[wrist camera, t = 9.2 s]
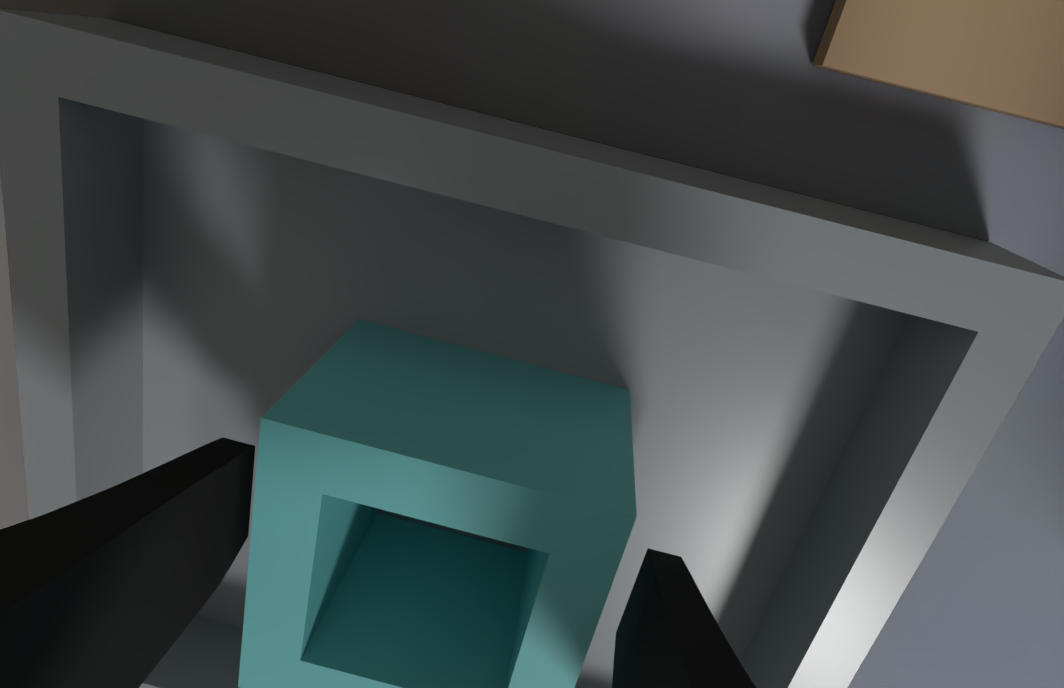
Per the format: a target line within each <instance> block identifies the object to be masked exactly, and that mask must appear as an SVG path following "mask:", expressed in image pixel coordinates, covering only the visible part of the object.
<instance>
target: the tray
mask: <svg viewBox="0 0 1064 688" xmlns="http://www.w3.org/2000/svg"><path fill="white" fill-rule="evenodd" d="M0 166H1V178H2V190H3V203H4V215H5V228H6V240H7V252H8V265H9V277H10V290H11V302H12V314H13V327H14V339H15V351H16V364H17V376H18V389H19V401H20V413H21V426H22V438H23V451H24V463H25V475H26V488H27V500H28V512H29V520H30V519H33V518H36V517H38V516H41V515H44V514H46V513H49V512H52V511H54V510H57V509H59V508H61V507H64V506H66V505H69V504H71V503H74V502H76V501H79V500H81V499H84V498H86V497H89V496H91V495H94V494H96V493H99V492H101V491H104V490H106V489H109V488H111V487H113V486H116V485H118V484H120V483H122V482H124V481H127V480H129V479H131V478H133V477H136V476H138V475H140V474H142V473H145V472H147V471H149V470H151V469H153V468H156V467H158V466H160V465H162V464H164V463H167V462H169V461H171V460H173V459H175V458H177V457H179V456H182V455H184V454H186V453H188V452H190V451H192V450H195V449H197V448H199V447H201V446H203V445H206V444H208V443H210V442H213V441H215V440H217V439H220V438H222V437H223V438H227V439H231V440H235V441H239V442H243V443H246V444H250V445H254V446H255V458H254V471H253V483H252V496H251V508H250V521H249V533H248V538H247V539H246V541H245V543H244V544H243V546H242V548H241V550H240V551H239V553H238V555H237V556H236V558H235V560H234V562H233V563H232V565H231V567H230V568H229V570H228V571H227V573H226V575H225V576H224V578H223V579H222V581H221V583H220V584H219V586H218V587H217V588H216V590H215V591H214V592H213V594H212V595H211V596H210V598H209V599H208V600H207V602H206V603H205V604H204V605H203V607H202V608H201V609H200V611H199V612H198V613H197V614H196V616H195V617H194V618H193V620H192V621H191V622H190V623H189V625H188V626H187V627H186V628H185V630H184V631H183V632H182V634H181V635H180V636H179V637H178V639H177V640H176V641H175V642H174V644H173V645H172V646H171V647H170V649H169V650H168V651H167V653H166V654H165V655H164V656H163V658H162V659H161V660H160V661H159V663H158V664H157V665H156V666H155V668H154V669H153V670H152V672H151V673H150V674H149V675H148V677H147V678H146V679H145V680H144V682H143V683H142V684H141V686H140V687H139V688H239V687H238V681H239V669H240V657H241V646H242V634H243V622H244V610H245V598H246V586H247V574H248V562H249V551H250V539H251V527H252V515H253V503H254V491H255V479H256V467H257V456H258V444H259V432H260V420H261V417H262V416H263V415H264V414H265V413H266V412H267V411H268V410H269V409H270V408H271V407H272V406H273V405H274V404H275V403H276V402H277V401H278V400H279V399H280V398H281V397H282V396H283V395H284V394H285V393H286V392H287V391H288V390H289V389H290V388H291V387H292V386H293V385H294V384H295V383H296V382H297V381H298V380H299V379H300V378H301V377H302V376H303V375H304V374H305V373H306V372H307V371H308V370H309V369H310V368H311V367H312V366H313V365H314V364H315V363H316V362H317V361H318V360H319V359H320V358H321V357H322V356H323V355H324V354H325V353H326V352H327V351H328V350H329V349H330V348H331V347H332V346H333V345H334V344H335V343H336V342H337V340H338V339H339V338H340V337H341V336H342V335H343V334H344V333H345V332H346V331H347V330H348V329H349V328H350V327H351V326H352V325H353V324H354V323H355V322H356V321H357V320H358V319H360V320H364V321H368V322H372V323H376V324H379V325H383V326H387V327H391V328H395V329H399V330H403V331H406V332H410V333H414V334H418V335H422V336H426V337H429V338H433V339H437V340H441V341H445V342H449V343H453V344H456V345H460V346H464V347H468V348H472V349H476V350H479V351H483V352H487V353H491V354H495V355H499V356H503V357H506V358H510V359H514V360H518V361H522V362H526V363H529V364H533V365H537V366H541V367H545V368H549V369H552V370H556V371H560V372H564V373H568V374H572V375H576V376H579V377H583V378H587V379H591V380H595V381H599V382H602V383H606V384H610V385H614V386H618V387H622V388H626V389H629V390H630V403H631V421H632V439H633V457H634V475H635V493H636V511H637V517H636V520H635V523H634V525H633V528H632V531H631V534H630V536H629V539H628V542H627V545H626V547H625V550H624V553H623V556H622V558H621V561H620V564H619V567H618V569H617V572H616V575H615V578H614V580H613V583H612V586H611V589H610V591H609V594H608V597H607V600H606V602H605V605H604V608H603V611H602V614H601V616H600V619H599V622H598V625H597V627H596V630H595V633H594V636H593V638H592V641H591V644H590V647H589V649H588V652H587V655H586V658H585V660H584V663H583V666H582V669H581V671H580V674H579V677H578V680H577V682H576V685H575V688H612V680H613V664H614V651H615V638H616V631H617V628H618V626H619V623H620V621H621V618H622V615H623V613H624V610H625V607H626V605H627V602H628V599H629V597H630V594H631V591H632V589H633V586H634V583H635V581H636V578H637V575H638V573H639V570H640V567H641V565H642V562H643V559H644V557H645V554H646V551H647V549H648V548H649V549H653V550H657V551H661V552H665V553H668V554H672V555H676V556H680V557H682V559H683V561H684V563H685V564H686V566H687V568H688V570H689V572H690V574H691V575H692V577H693V579H694V581H695V583H696V585H697V587H698V589H699V590H700V592H701V594H702V596H703V598H704V600H705V602H706V603H707V605H708V607H709V609H710V611H711V613H712V614H713V616H714V618H715V620H716V622H717V623H718V625H719V627H720V629H721V631H722V632H723V634H724V636H725V637H726V639H727V641H728V643H729V644H730V646H731V648H732V649H733V651H734V653H735V654H736V656H737V658H738V659H739V661H740V663H741V665H742V666H743V668H744V669H745V671H746V673H747V674H748V676H749V677H750V679H751V680H752V682H753V683H754V685H755V686H756V688H847V687H848V685H849V684H850V682H851V680H852V678H853V677H854V675H855V673H856V672H857V670H858V668H859V667H860V665H861V663H862V661H863V660H864V658H865V656H866V655H867V653H868V651H869V649H870V648H871V646H872V644H873V643H874V641H875V639H876V637H877V636H878V634H879V632H880V631H881V629H882V627H883V626H884V624H885V622H886V620H887V619H888V617H889V615H890V614H891V612H892V610H893V608H894V607H895V605H896V603H897V602H898V600H899V598H900V596H901V595H902V593H903V591H904V590H905V588H906V586H907V584H908V583H909V581H910V579H911V578H912V576H913V574H914V573H915V571H916V569H917V567H918V566H919V564H920V562H921V561H922V559H923V557H924V555H925V554H926V552H927V550H928V549H929V547H930V545H931V543H932V542H933V540H934V538H935V537H936V535H937V533H938V532H939V530H940V528H941V526H942V525H943V523H944V521H945V520H946V518H947V516H948V514H949V513H950V511H951V509H952V508H953V506H954V504H955V502H956V501H957V499H958V497H959V496H960V494H961V492H962V490H963V489H964V487H965V485H966V484H967V482H968V480H969V479H970V477H971V475H972V473H973V472H974V470H975V468H976V467H977V465H978V463H979V461H980V460H981V458H982V456H983V455H984V453H985V451H986V449H987V448H988V446H989V444H990V443H991V441H992V439H993V438H994V436H995V434H996V432H997V431H998V429H999V427H1000V426H1001V424H1002V422H1003V420H1004V419H1005V417H1006V415H1007V414H1008V412H1009V410H1010V408H1011V407H1012V405H1013V403H1014V402H1015V400H1016V398H1017V397H1018V395H1019V393H1020V391H1021V390H1022V388H1023V386H1024V385H1025V383H1026V381H1027V379H1028V378H1029V376H1030V374H1031V373H1032V371H1033V369H1034V367H1035V366H1036V364H1037V362H1038V361H1039V359H1040V357H1041V355H1042V354H1043V352H1044V350H1045V349H1046V347H1047V345H1048V344H1049V342H1050V340H1051V338H1052V337H1053V335H1054V333H1055V332H1056V330H1057V328H1058V326H1059V325H1060V323H1061V321H1062V320H1063V318H1064V277H1063V276H1061V275H1059V274H1057V273H1055V272H1053V271H1050V270H1048V269H1046V268H1044V267H1042V266H1040V265H1038V264H1036V263H1033V262H1031V261H1029V260H1027V259H1025V258H1023V257H1021V256H1019V255H1016V254H1014V253H1012V252H1010V251H1008V250H1006V249H1004V248H1002V247H999V246H997V245H995V244H993V243H991V242H987V241H983V240H979V239H975V238H971V237H967V236H963V235H959V234H955V233H951V232H947V231H943V230H939V229H935V228H932V227H928V226H924V225H920V224H916V223H912V222H908V221H904V220H900V219H896V218H892V217H888V216H884V215H880V214H876V213H872V212H868V211H865V210H861V209H857V208H853V207H849V206H845V205H841V204H837V203H833V202H829V201H825V200H821V199H817V198H813V197H809V196H805V195H801V194H798V193H794V192H790V191H786V190H782V189H778V188H774V187H770V186H766V185H762V184H758V183H754V182H750V181H746V180H742V179H738V178H735V177H731V176H727V175H723V174H719V173H715V172H711V171H707V170H703V169H699V168H695V167H691V166H687V165H683V164H679V163H675V162H671V161H668V160H664V159H660V158H656V157H652V156H648V155H644V154H640V153H636V152H632V151H628V150H624V149H620V148H616V147H612V146H608V145H605V144H601V143H597V142H593V141H589V140H585V139H581V138H577V137H573V136H569V135H565V134H561V133H557V132H553V131H549V130H545V129H541V128H538V127H534V126H530V125H526V124H522V123H518V122H514V121H510V120H506V119H502V118H498V117H494V116H490V115H486V114H482V113H478V112H475V111H471V110H467V109H463V108H459V107H455V106H451V105H447V104H443V103H439V102H435V101H431V100H427V99H423V98H419V97H415V96H411V95H408V94H404V93H400V92H396V91H392V90H388V89H384V88H380V87H376V86H372V85H368V84H364V83H360V82H356V81H352V80H348V79H345V78H341V77H337V76H333V75H329V74H325V73H321V72H317V71H313V70H309V69H305V68H301V67H297V66H293V65H289V64H285V63H281V62H278V61H274V60H270V59H266V58H262V57H258V56H254V55H250V54H246V53H242V52H238V51H234V50H230V49H226V48H222V47H218V46H215V45H211V44H207V43H203V42H199V41H195V40H191V39H187V38H183V37H179V36H175V35H171V34H167V33H163V32H159V31H155V30H151V29H148V28H144V27H140V26H136V25H132V24H128V23H124V22H120V21H116V20H112V19H108V18H99V17H89V16H78V15H67V14H56V13H45V12H34V11H23V10H12V9H1V8H0ZM377 513H378V514H382V515H386V516H390V517H394V518H397V519H401V520H405V521H409V522H413V523H416V524H420V525H424V526H428V527H432V528H435V529H439V530H443V531H447V532H451V533H454V534H458V535H462V536H466V537H470V538H473V539H477V540H481V541H485V542H489V543H493V544H496V545H500V546H504V547H508V548H512V549H515V550H519V551H523V552H527V553H528V551H529V548H526V547H522V546H519V545H515V544H511V543H507V542H503V541H499V540H496V539H492V538H488V537H484V536H480V535H477V534H473V533H469V532H465V531H461V530H458V529H454V528H450V527H446V526H442V525H439V524H435V523H431V522H427V521H423V520H420V519H416V518H412V517H408V516H404V515H401V514H397V513H393V512H389V511H385V510H382V509H378V511H377Z"/></svg>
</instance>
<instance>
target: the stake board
mask: <svg viewBox="0 0 1064 688" xmlns="http://www.w3.org/2000/svg"><path fill="white" fill-rule="evenodd" d="M812 66H816V67H820V68H824V69H828V70H832V71H836V72H840V73H844V74H848V75H852V76H856V77H860V78H864V79H868V80H872V81H876V82H880V83H884V84H888V85H892V86H896V87H900V88H904V89H908V90H912V91H916V92H920V93H924V94H927V95H931V96H935V97H939V98H943V99H947V100H951V101H955V102H959V103H963V104H967V105H971V106H975V107H979V108H983V109H987V110H991V111H995V112H999V113H1003V114H1007V115H1011V116H1015V117H1019V118H1023V119H1027V120H1031V121H1035V122H1039V123H1043V124H1047V125H1051V126H1055V127H1059V128H1063V129H1064V0H836V1H835V4H834V7H833V9H832V12H831V15H830V17H829V20H828V23H827V26H826V28H825V31H824V34H823V37H822V39H821V42H820V45H819V47H818V50H817V53H816V56H815V58H814V61H813V64H812Z"/></svg>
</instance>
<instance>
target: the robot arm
mask: <svg viewBox="0 0 1064 688" xmlns="http://www.w3.org/2000/svg"><path fill="white" fill-rule="evenodd" d="M254 458H255V446H254V445H250V444H246V443H243V442H239V441H235V440H231V439H227V438H223V437H222V438H220V439H217V440H215V441H213V442H210V443H208V444H206V445H203V446H201V447H199V448H197V449H195V450H192V451H190V452H188V453H186V454H184V455H182V456H179V457H177V458H175V459H173V460H171V461H169V462H167V463H164V464H162V465H160V466H158V467H156V468H153V469H151V470H149V471H147V472H145V473H142V474H140V475H138V476H136V477H133V478H131V479H129V480H127V481H124V482H122V483H120V484H118V485H116V486H113V487H111V488H109V489H106V490H104V491H101V492H99V493H96V494H94V495H91V496H89V497H86V498H84V499H81V500H79V501H76V502H74V503H71V504H69V505H66V506H64V507H61V508H59V509H57V510H54V511H52V512H49V513H46V514H44V515H41V516H38V517H36V518H33V519H30V520H27V521H24V522H21V523H19V524H16V525H13V526H10V527H7V528H4V529H1V530H0V688H139V687H140V686H141V684H142V683H143V682H144V680H145V679H146V678H147V677H148V675H149V674H150V673H151V672H152V670H153V669H154V668H155V666H156V665H157V664H158V663H159V661H160V660H161V659H162V658H163V656H164V655H165V654H166V653H167V651H168V650H169V649H170V647H171V646H172V645H173V644H174V642H175V641H176V640H177V639H178V637H179V636H180V635H181V634H182V632H183V631H184V630H185V628H186V627H187V626H188V625H189V623H190V622H191V621H192V620H193V618H194V617H195V616H196V614H197V613H198V612H199V611H200V609H201V608H202V607H203V605H204V604H205V603H206V602H207V600H208V599H209V598H210V596H211V595H212V594H213V592H214V591H215V590H216V588H217V587H218V586H219V584H220V583H221V581H222V579H223V578H224V576H225V575H226V573H227V571H228V570H229V568H230V567H231V565H232V563H233V562H234V560H235V558H236V556H237V555H238V553H239V551H240V550H241V548H242V546H243V544H244V543H245V541H246V539H247V538H248V533H249V521H250V508H251V496H252V483H253V471H254ZM612 688H756V686H755V685H754V683H753V682H752V680H751V679H750V677H749V676H748V674H747V673H746V671H745V669H744V668H743V666H742V665H741V663H740V661H739V659H738V658H737V656H736V654H735V653H734V651H733V649H732V648H731V646H730V644H729V643H728V641H727V639H726V637H725V636H724V634H723V632H722V631H721V629H720V627H719V625H718V623H717V622H716V620H715V618H714V616H713V614H712V613H711V611H710V609H709V607H708V605H707V603H706V602H705V600H704V598H703V596H702V594H701V592H700V590H699V589H698V587H697V585H696V583H695V581H694V579H693V577H692V575H691V574H690V572H689V570H688V568H687V566H686V564H685V563H684V561H683V559H682V557H680V556H676V555H672V554H668V553H665V552H661V551H657V550H653V549H649V548H648V549H647V551H646V554H645V557H644V559H643V562H642V565H641V567H640V570H639V573H638V575H637V578H636V581H635V583H634V586H633V589H632V591H631V594H630V597H629V599H628V602H627V605H626V607H625V610H624V613H623V615H622V618H621V621H620V623H619V626H618V628H617V631H616V638H615V651H614V664H613V680H612Z"/></svg>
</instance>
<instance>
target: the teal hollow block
mask: <svg viewBox="0 0 1064 688" xmlns="http://www.w3.org/2000/svg"><path fill="white" fill-rule="evenodd" d="M378 509H382V510H385V511H389V512H393V513H397V514H401V515H404V516H408V517H412V518H416V519H420V520H423V521H427V522H431V523H435V524H439V525H442V526H446V527H450V528H454V529H458V530H461V531H465V532H469V533H473V534H477V535H480V536H484V537H488V538H492V539H496V540H499V541H503V542H507V543H511V544H515V545H519V546H522V547H526V548H529V551H528V553H527V552H523V551H519V550H515V549H512V548H508V547H504V546H500V545H496V544H493V543H489V542H485V541H481V540H477V539H473V538H470V537H466V536H462V535H458V534H454V533H451V532H447V531H443V530H439V529H435V528H432V527H428V526H424V525H420V524H416V523H413V522H409V521H405V520H401V519H397V518H394V517H390V516H386V515H382V514H378V513H377V511H378ZM636 517H637V511H636V493H635V475H634V457H633V439H632V421H631V403H630V390H629V389H626V388H622V387H618V386H614V385H610V384H606V383H602V382H599V381H595V380H591V379H587V378H583V377H579V376H576V375H572V374H568V373H564V372H560V371H556V370H552V369H549V368H545V367H541V366H537V365H533V364H529V363H526V362H522V361H518V360H514V359H510V358H506V357H503V356H499V355H495V354H491V353H487V352H483V351H479V350H476V349H472V348H468V347H464V346H460V345H456V344H453V343H449V342H445V341H441V340H437V339H433V338H429V337H426V336H422V335H418V334H414V333H410V332H406V331H403V330H399V329H395V328H391V327H387V326H383V325H379V324H376V323H372V322H368V321H364V320H360V319H358V320H357V321H356V322H355V323H354V324H353V325H352V326H351V327H350V328H349V329H348V330H347V331H346V332H345V333H344V334H343V335H342V336H341V337H340V338H339V339H338V340H337V342H336V343H335V344H334V345H333V346H332V347H331V348H330V349H329V350H328V351H327V352H326V353H325V354H324V355H323V356H322V357H321V358H320V359H319V360H318V361H317V362H316V363H315V364H314V365H313V366H312V367H311V368H310V369H309V370H308V371H307V372H306V373H305V374H304V375H303V376H302V377H301V378H300V379H299V380H298V381H297V382H296V383H295V384H294V385H293V386H292V387H291V388H290V389H289V390H288V391H287V392H286V393H285V394H284V395H283V396H282V397H281V398H280V399H279V400H278V401H277V402H276V403H275V404H274V405H273V406H272V407H271V408H270V409H269V410H268V411H267V412H266V413H265V414H264V415H263V416H262V417H261V420H260V432H259V444H258V456H257V467H256V479H255V491H254V503H253V515H252V527H251V539H250V551H249V562H248V574H247V586H246V598H245V610H244V622H243V634H242V646H241V657H240V669H239V681H238V687H239V688H575V685H576V682H577V680H578V677H579V674H580V671H581V669H582V666H583V663H584V660H585V658H586V655H587V652H588V649H589V647H590V644H591V641H592V638H593V636H594V633H595V630H596V627H597V625H598V622H599V619H600V616H601V614H602V611H603V608H604V605H605V602H606V600H607V597H608V594H609V591H610V589H611V586H612V583H613V580H614V578H615V575H616V572H617V569H618V567H619V564H620V561H621V558H622V556H623V553H624V550H625V547H626V545H627V542H628V539H629V536H630V534H631V531H632V528H633V525H634V523H635V520H636Z"/></svg>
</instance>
